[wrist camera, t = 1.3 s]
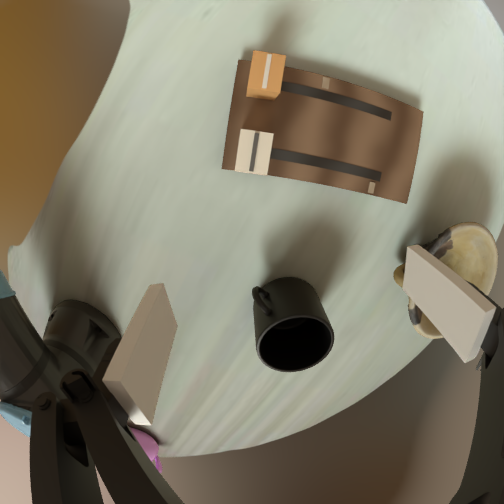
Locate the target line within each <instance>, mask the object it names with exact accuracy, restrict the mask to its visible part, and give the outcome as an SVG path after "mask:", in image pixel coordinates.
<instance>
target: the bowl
mask: <svg viewBox="0 0 504 504" xmlns="http://www.w3.org/2000/svg"><path fill="white" fill-rule="evenodd" d="M422 248H423V249H425V250H426V251H428V252H429V253H430V254H432V255H433V256H434V257H436V258H437V259H438V260H440V261H441V262H442V263H444V264H445V265H446V266H448V267H449V268H450V269H451V270H453V271H454V272H455V273H456V274H458V275H459V276H460V277H461V278H463V279H464V280H466V281H468V282H470V283H473V284H474V285H475V286H476V287H478V288H479V290H481V291H482V292H484V293H485V295H487V296H488V294H489V292H490V290H491V288H492V285H493V282H494V279H495V276H496V271H497V263H498V252H497V247H496V243H495V240H494V238H493V235H492V234H491V233H490V231H489V230H488V229H487V228H485V227H484V226H482V225H480V224H478V223H475V222H465V223H460V224H457V225H454V226H452V227H450V228H448V229H447V230H445V231H444V232H443V233H441V234H439V236H438V238H437V239H435V240H433V242H431V243H428V244H426V245H424V246H423V247H422ZM405 265H406V263H405V264H402V265H400V266H398V267H397V268H396V270H395V271H394V280H395V281H396V283H397V284H398V285H399V286H401V287H402V288H403V281H404V273H405ZM408 297H409V296H408ZM408 308H409V309H408V311H409V316H410V320H411V322H412V323H413V326H414V328H415V330H416V331H417V332H418V333H419V334H420V335H422V336H424V337H427V338H431V339H436V338H443V337H444V336H443V335H442V334H441V333H440V332H439V330H438V329H437V328H436V327H435V326H434V324H433V323H432V322H431V321H430V320H429V319H428V317H427V316H426V315H425V314H424V313H423V312H422V311H421V309H420V308H419V307H418V306H417V305H416V304H415V303H414V302H413V301H412V299H411V298H410V297H409V305H408Z"/></svg>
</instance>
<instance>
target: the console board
mask: <svg viewBox="0 0 504 504" xmlns="http://www.w3.org/2000/svg"><path fill="white" fill-rule="evenodd" d="M251 62H252V61H246V60H238V66H237V72H236V77H235V83H234V89H233V95H232V102H231V108H230V114H229V121H228V128H227V135H226V142H225V149H224V156H223V163H222V169H227V170H235V165H236V158H237V151H238V144H239V137H240V130H241V129H246V130H253V131H260V132H266V133H273V134H274V135H273V141H272V148H271V154H270V160H269V166H268V173H267V175H271V176H278V177H284V178H290V179H296V180H301V181H307V182H312V183H318V184H323V185H328V186H333V187H338V188H343V189H347V190H352V191H356V192H361V193H365V194H369V195H374V196H378V197H382V198H386V199H390V200H394V201H398V202H402V203H405V204H407V201H408V197H409V192H410V188H411V183H412V179H413V174H414V169H415V164H416V159H417V153H418V147H419V141H420V134H421V127H422V119H423V111H421V110H419V109H416V108H414V107H412V106H410V105H407V104H405V103H403V102H401V101H398V100H396V99H393V98H391V97H388V96H386V95H383V94H380V93H378V92H375V91H372V90H370V89H367V88H364V87H361V86H358V85H355V84H352V83H348V82H345V81H342V80H338V79H335V78H331V77H328V76H324V75H320V74H316V73H312V72H308V71H304V70H299V69H294V68H289V67H284V72H283V78H282V84H281V91H280V94H279V95H278V96H277V97H276V99H275V100H274V101H273V100H267V99H260V98H253V97H246V94H247V86H248V80H249V74H250V68H251Z"/></svg>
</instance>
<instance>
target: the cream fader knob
mask: <svg viewBox="0 0 504 504" xmlns="http://www.w3.org/2000/svg"><path fill="white" fill-rule="evenodd" d="M273 135H274V134H273V133H266V132H260V131H253V130H246V129H241V130H240V137H239V144H238V151H237V158H236V165H235V171H237V172H245V173H252V174H259V175H266V176H267V173H268V166H269V160H270V154H271V148H272V141H273Z"/></svg>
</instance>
